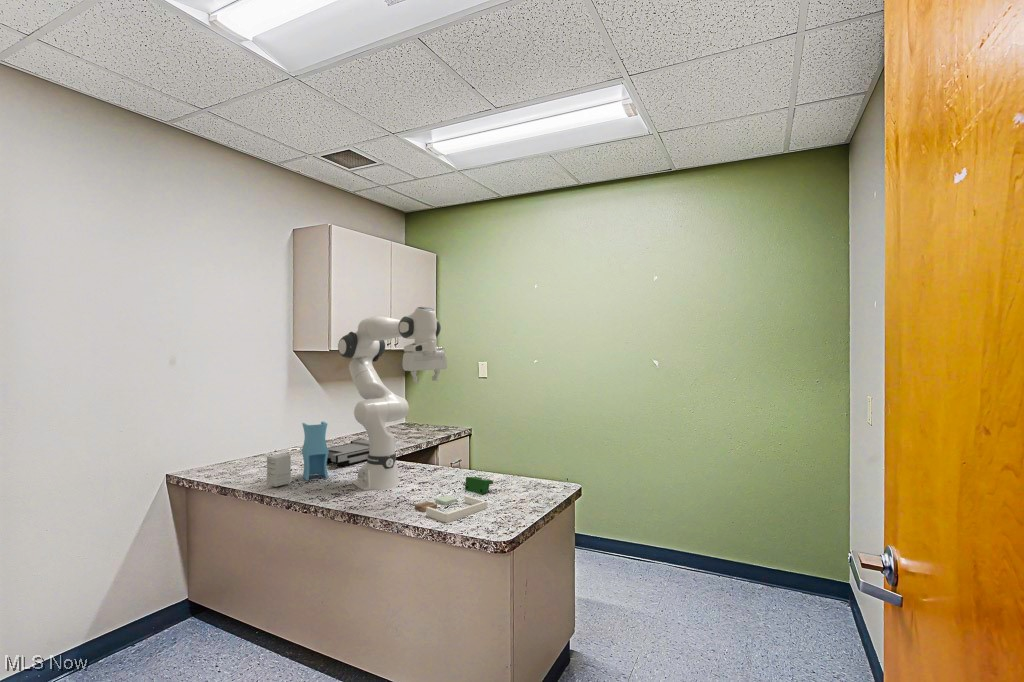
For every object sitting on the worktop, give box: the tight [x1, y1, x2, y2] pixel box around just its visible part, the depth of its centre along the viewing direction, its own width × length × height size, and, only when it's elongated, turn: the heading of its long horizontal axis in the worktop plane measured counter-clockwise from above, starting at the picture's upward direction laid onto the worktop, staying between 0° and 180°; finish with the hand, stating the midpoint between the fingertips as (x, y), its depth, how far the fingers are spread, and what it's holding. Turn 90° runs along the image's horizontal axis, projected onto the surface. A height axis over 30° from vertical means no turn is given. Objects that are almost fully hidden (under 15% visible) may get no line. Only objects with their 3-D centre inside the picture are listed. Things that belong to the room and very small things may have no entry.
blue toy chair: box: [301, 421, 329, 481], centre depth 241 cm, size 10×10×25 cm
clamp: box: [464, 476, 494, 495], centre depth 216 cm, size 12×6×9 cm, turn 44°
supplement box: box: [266, 452, 292, 487], centre depth 228 cm, size 7×7×13 cm
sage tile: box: [434, 495, 458, 506], centre depth 201 cm, size 6×6×2 cm
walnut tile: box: [414, 500, 438, 513], centre depth 194 cm, size 6×6×2 cm
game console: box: [327, 438, 369, 468], centre depth 274 cm, size 21×32×8 cm, turn 147°
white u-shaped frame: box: [425, 495, 488, 524], centre depth 189 cm, size 12×20×3 cm, turn 138°
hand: (425, 381), depth 206 cm, fingers open, 8 cm apart
